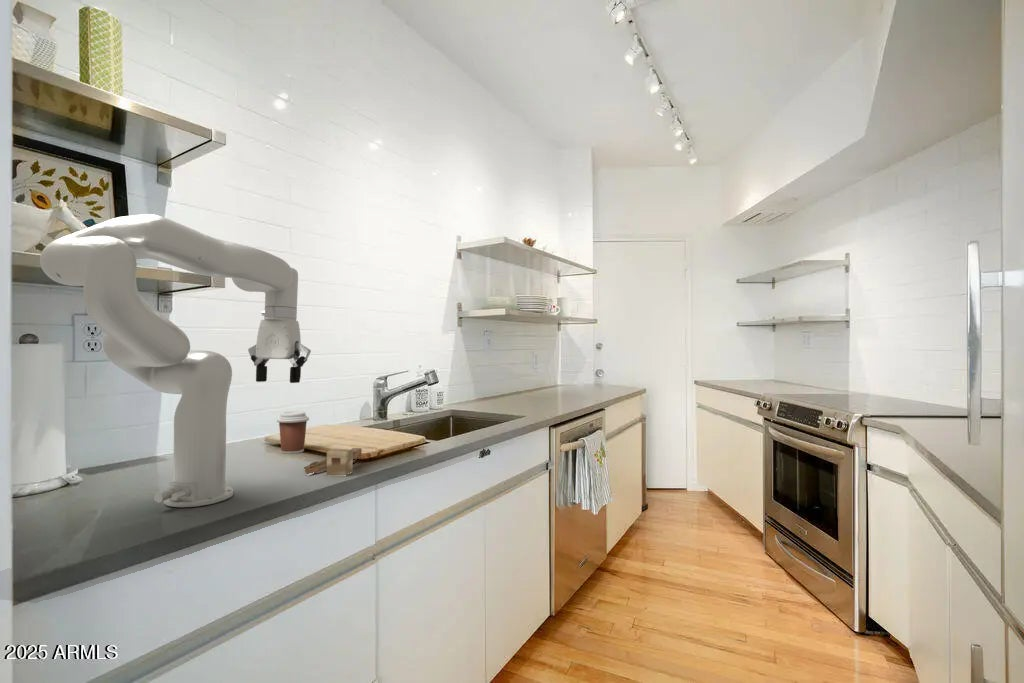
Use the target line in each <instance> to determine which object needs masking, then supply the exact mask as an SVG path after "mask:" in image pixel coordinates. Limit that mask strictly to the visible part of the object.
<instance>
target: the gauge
mask: <svg viewBox="0 0 1024 683" xmlns="http://www.w3.org/2000/svg"><path fill="white" fill-rule="evenodd" d="M361 456H362V448H361V447H353V448H350V449H349V448H333V449H330V450H328V451H326V459H327V471H326V476H328V475H347V474H348V473H350V472H352V473H353V467H354V466H353V463H354V462H353V459H355V460H356V461H357V460H358V458H359V457H361ZM350 474H351V473H350ZM347 476H348V475H347Z"/></svg>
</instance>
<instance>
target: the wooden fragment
mask: <svg viewBox="0 0 1024 683" xmlns="http://www.w3.org/2000/svg"><path fill="white" fill-rule="evenodd" d="M356 461H357V460H353V463H354V464H355V463H356ZM304 469H305V474H309V473H313V472H314V473H317V474H320V473H323V472H327V458H324V459H322V460H318V461H314V462H310V464H309V465H306V466H304V467H303V470H304Z"/></svg>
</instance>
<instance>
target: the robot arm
mask: <svg viewBox="0 0 1024 683" xmlns="http://www.w3.org/2000/svg"><path fill="white" fill-rule="evenodd" d="M147 259H149V260H154V261H158V262H160V263H163V264H167V265H170V266H173V267H176V268H179V269H182V270H184V271H185V270H186V271H188V272H190V273H193V274H196V275H201V276H206V277H212V278H228V279H231V281H232V282H233V284H234V285H235V286H236V287H237V288H238V289H239V290H242V291H244V292H248V293H253V292H256V293H264V294H265V297H264V310H262V311H261V316H263V319H261V320H260V323H259V327H258V330H257V331H258V332H257V335H256V343H255V345H253V346H250V347H248V349H247V351H248V353H249V356H250V360H252V362H253V365H254V366H255V367H256V369H255V372H256V373H255V381H256V382H259V383H260V382H262V383H263V382H266V381H267V379H268V376H267V375H268V366H267V365H266V364H267V363H268V362H269V360H288V361H289V362H290V364H291V365H292V366H290V368H289V383H290V384H297V383H298V384H299V383H300V382H301V377H302V376H301V374H302V367H303V366H304V364H305V363H306V362H308V358H309V357H310V354H312V353H311V352H312V350H311V349H309V347H306V346H305V345H303V344H302V342H301V339H302V338H301V330H300V323H299V321H298V320H297V313H298V294H299V293H298V289H299V273H298V271H297V269H295V268H293V267H291V265H289V264H288V262H287V261H286V260H284V259H282V258H280V257H278V256H277V255H274V254H272V253H269V252H268V251H265V250H261V249H259V248H255V247H251V246H248V245H243V244H239V243H235V242H232V241H228V240H224V239H220V238H216V237H212V236H210V235H209V234H205V233H203V232H200V231H198V230H196V229H193V228H191V227H188V226H186V225H184V224H181V223H179V222H176V221H174V220H172V219H169V218H168V217H164V216H162V215H158V214H153V213H152V214H151V213H143V214H132V215H125V216H118V217H115V218H111V219H108V220H105V221H103V222H101V223H97V224H95V225H92V226H90V227H86V228H84V229H82V230H81V229H80V230H79V231H75V232H73V233H71V234H67V235H65V236H62V237H60V238H57V239H55V240H53V241H50V243H48V244H47V245H46V246H45V247H43V250H42V251H41V254H40V257H39V264H40V267H41V269H42V271H43V273H45V275H46V276H47V277H48V278H49V279H51V280H52V281H54V282H56V283H57V284H61V285H65V286H71V287H80V286H81V287H83V299H84V306H85V310H86V313H87V315H88V317H89V319H90V321H91V322H92V323H93V324H94V325H95V327H97V328H98V329H99V330H101V331H102V332H103V333H104V334H103V338H102V348H103V350H104V351H103V352H104V353H105V355H106V356H107V359H109V361H110V362H112V363H113V364H114V365H115V366H117V367H118V368H120V369H121V370H123V371H124V372H126V373H127V374H129V375H130V376H132V377H133V378H135V379H137V380H138V381H139V382H142V383H143V384H145V385H146V386H147V387H149V388H151V389H154V390H155V391H157V392H160V393H162V394H168V395H169V394H170V395H171V394H172V395H181V397H180V399H179V400H178V402H177V403H178V404H177V406H176V408H175V411H174V416H173V462H172V463H173V468H172V470H173V472H172V473H173V476H172V478H173V479H172V480H173V481H171V482H169V487H168V488H167V489H166V490H162V491H158V492H156V493H155V494H154V496H153V499H154V501H155V502H156V503H158V504H159V503H161V502H163V504H164V505H165V506H168V507H171V508H172V507H173V508H194V507H202V506H209V505H212V504H216V503H217V504H218V503H220V502H222V501H226V500H227V499H230V498H231V497H232V496H233V495H234V489H233V487H231V486H228V485H226V476H227V475H226V469H227V468H226V464H227V463H226V459H227V452H226V451H227V405H228V399H229V398H228V396H229V392H230V389H231V388H230V387H231V384H232V380H233V379H232V378H233V369H232V365H231V362H230V360H228V358H226V357H225V356H224V355H222V354H220V353H218V352H215V351H210V350H194V349H193V350H192V349H191V342H190V339H189V337H188V335H187V334H186V333H185V332H184V331H183V330H182V329H181V328H180V327H179V326H178V325H176V324H175V323H173V322H172V321H171V320H169V319H168V318H167V317H166V316H164V315H163V314H162V313H160V312H159V311H158V310H156V309H155V307H152V305H150V303H148V302H147V301H146V300H145V299H144V298H143V296H142V295H141V294H140V292H139V290H138V289H139V288H138V285H137V269H138V267H137V264H138V263H137V260H147Z"/></svg>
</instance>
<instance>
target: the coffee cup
mask: <svg viewBox="0 0 1024 683" xmlns="http://www.w3.org/2000/svg"><path fill="white" fill-rule="evenodd" d="M308 421H310V418H309V416H307V414H306V412H305V411H303V410H301V411H300V410H298V411H297V410H296V411H295V410H291V411H283V412H280V415H279V416H278V418H276V423H278V427H279V438H280V452H281V454H284V455H285V454H286V455H293V454H300V453H301V454H302V453H303V452H305V443H306V442H305V441H306V433H307V432H306V431H307V422H308Z"/></svg>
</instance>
